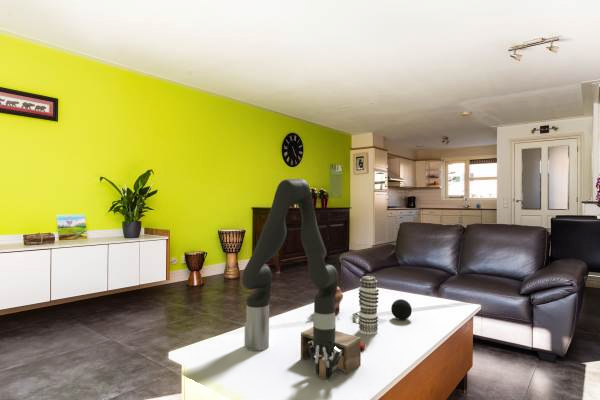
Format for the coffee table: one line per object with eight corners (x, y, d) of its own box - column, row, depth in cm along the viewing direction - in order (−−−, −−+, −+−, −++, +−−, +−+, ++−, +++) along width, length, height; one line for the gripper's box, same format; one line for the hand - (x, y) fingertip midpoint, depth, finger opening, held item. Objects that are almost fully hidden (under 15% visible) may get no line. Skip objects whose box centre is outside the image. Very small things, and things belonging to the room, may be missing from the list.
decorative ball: (407, 324, 177) (407, 303, 177) (388, 319, 183) (388, 300, 183) (414, 318, 185) (414, 299, 185) (395, 315, 191) (395, 296, 191)
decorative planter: (326, 320, 181) (327, 293, 181) (307, 315, 188) (307, 289, 188) (348, 311, 196) (348, 285, 196) (329, 307, 204) (329, 282, 204)
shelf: (300, 359, 136) (300, 332, 136) (316, 350, 144) (316, 325, 144) (346, 375, 124) (346, 346, 124) (360, 365, 132) (360, 337, 132)
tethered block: (315, 376, 123) (315, 359, 123) (338, 361, 135) (339, 345, 135) (327, 381, 120) (327, 363, 120) (350, 365, 131) (350, 348, 132)
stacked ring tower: (378, 335, 161) (379, 279, 161) (357, 333, 163) (358, 278, 163) (378, 328, 170) (378, 275, 170) (358, 327, 172) (359, 274, 172)
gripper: (301, 323, 124) (300, 373, 124) (335, 332, 115) (335, 386, 115) (314, 317, 130) (313, 365, 130) (348, 326, 121) (347, 377, 121)
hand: (324, 375), depth 122 cm, fingers closed on tethered block, 3 cm apart
